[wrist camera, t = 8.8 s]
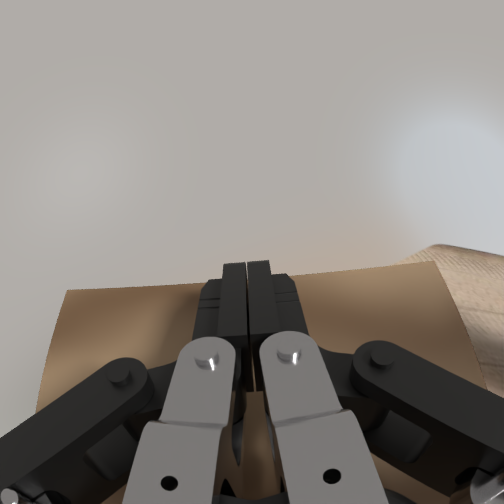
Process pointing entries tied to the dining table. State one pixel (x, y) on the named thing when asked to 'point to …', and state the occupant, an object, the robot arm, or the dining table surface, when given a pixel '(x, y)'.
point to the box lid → (256, 434)
